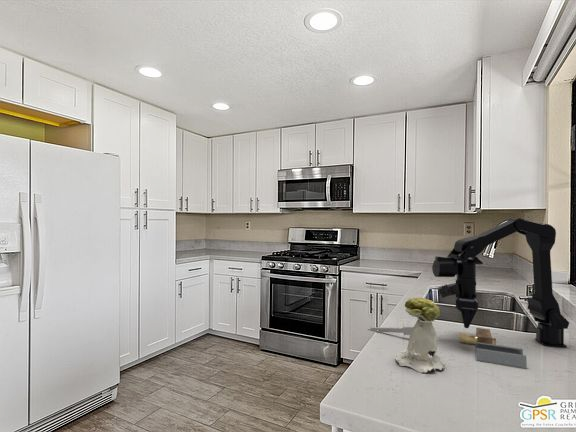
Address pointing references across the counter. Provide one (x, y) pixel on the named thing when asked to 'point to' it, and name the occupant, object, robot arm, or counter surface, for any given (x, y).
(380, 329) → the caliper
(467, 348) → the counter surface
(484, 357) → the v block
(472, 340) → the golden bar
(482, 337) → the walnut beam
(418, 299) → the ceramic tree figurine
